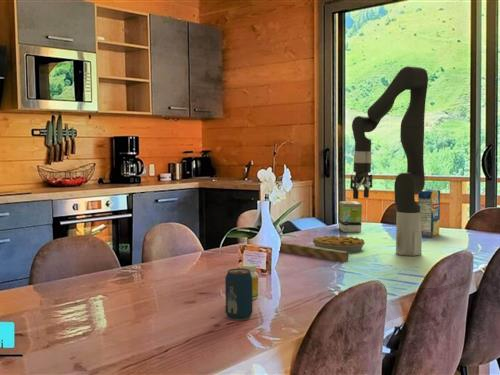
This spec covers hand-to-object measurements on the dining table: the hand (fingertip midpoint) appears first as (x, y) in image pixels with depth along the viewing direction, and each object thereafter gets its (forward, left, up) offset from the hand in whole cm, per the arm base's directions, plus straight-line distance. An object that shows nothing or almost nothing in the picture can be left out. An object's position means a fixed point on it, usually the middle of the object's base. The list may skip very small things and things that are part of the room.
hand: (360, 198), depth 254 cm
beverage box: (-8, -48, -21) cm, 53 cm away
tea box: (+29, -34, -21) cm, 49 cm away
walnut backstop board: (+1, +36, -21) cm, 42 cm away
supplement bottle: (-27, +100, -21) cm, 106 cm away
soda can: (-38, +115, -21) cm, 123 cm away
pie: (+1, +16, -21) cm, 26 cm away
